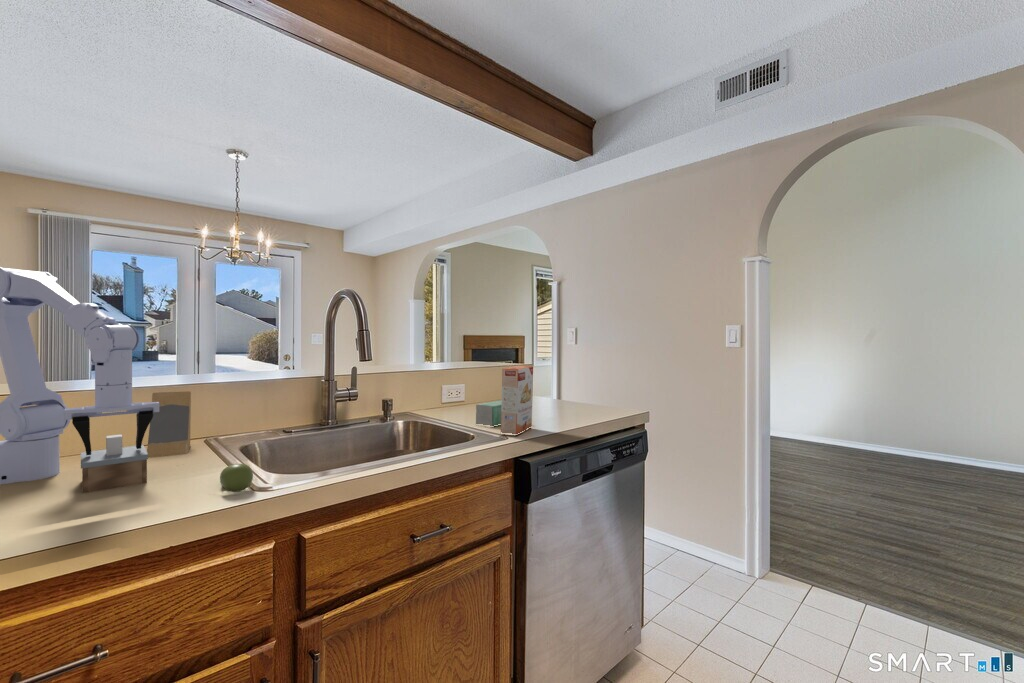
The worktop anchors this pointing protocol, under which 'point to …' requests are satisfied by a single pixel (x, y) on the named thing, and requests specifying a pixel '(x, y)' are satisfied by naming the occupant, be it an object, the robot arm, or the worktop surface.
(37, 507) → the worktop surface
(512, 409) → the cracker box
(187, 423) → the sandwich container
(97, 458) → the lid
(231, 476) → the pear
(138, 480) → the walnut box
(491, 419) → the box
